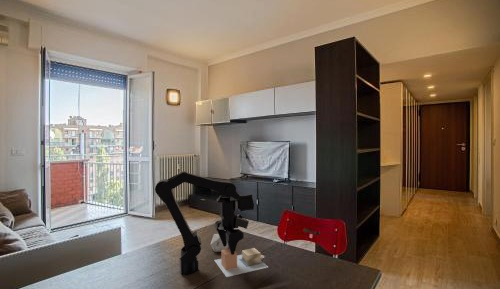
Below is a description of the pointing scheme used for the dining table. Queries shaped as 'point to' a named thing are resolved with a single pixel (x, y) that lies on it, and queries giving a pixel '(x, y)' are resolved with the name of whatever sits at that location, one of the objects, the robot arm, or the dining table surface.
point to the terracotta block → (228, 259)
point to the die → (217, 244)
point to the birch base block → (251, 256)
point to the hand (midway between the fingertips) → (228, 250)
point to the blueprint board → (240, 267)
